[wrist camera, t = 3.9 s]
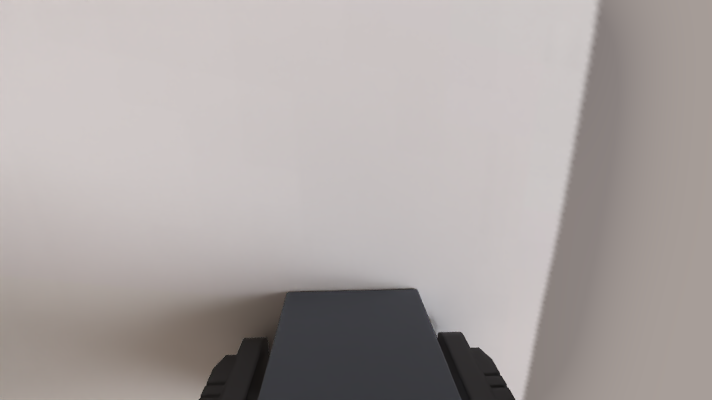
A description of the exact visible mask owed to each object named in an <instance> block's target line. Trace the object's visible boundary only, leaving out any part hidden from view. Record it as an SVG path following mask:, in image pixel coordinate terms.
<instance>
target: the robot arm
mask: <svg viewBox="0 0 712 400" xmlns="http://www.w3.org/2000/svg"><path fill="white" fill-rule="evenodd" d="M437 340H438V342H439V345H440V347H441V350H442V352H443V355H444V357H445V360H446V362H447V365H448V367H449V370H450V372H451V375H452V377H453V380H454V382H455V385H456V387H457V390H458V392H459V395H460V397H461V400H515V398H514V397H513V395H512V393H511V391H510V390H509V388H507V384H506V383H505V381H504V379H503V378H502V376H500V372H499V371H498V369H497V367H496V366H495V364H494V362H493V360H492V359H491V358H490V357H489V356H488V355H487V354H485V353H484V352H483V351H482V350H481V349H480V348H470V347H469V345H468V343H467V341H466V339H465V337H464V335H463V334H462V333H461V332H440V333H438V337H437ZM269 357H270V356H269V345H268V339H267V337H257V338H244V339H243V340H242V343H241V345H240V348H239V350H238V353H237V355H226V356H225V357H224V358H223V359H222V360H221V361H220V362H219V363H218V364H217V365H216V366H215V367H214V368H213V370H212V372H211V375H210V377H209V379H208V381H207V385H206V386H205V387H204V390H203V392H202V394H201V398H200V399H199V400H258V397H259V393H260V390H261V386H262V382H263V379H264V375H265V371H266V368H267V364H268V360H269Z"/></svg>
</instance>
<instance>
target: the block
mask: <svg viewBox="0 0 712 400" xmlns="http://www.w3.org/2000/svg"><path fill="white" fill-rule="evenodd" d="M258 400H461V397H460V395H459V392H458V390H457V387H456V385H455V382H454V380H453V377H452V375H451V372H450V370H449V367H448V365H447V362H446V360H445V357H444V355H443V352H442V350H441V347H440V345H439V342H438V340H437V337H436V335H435V333H434V330H433V328H432V325H431V323H430V320H429V318H428V315H427V313H426V310H425V308H424V305H423V303H422V300H421V298H420V295H419V293H418V290H416V289H407V290H365V291H323V292H288V293H287V294H286V298H285V301H284V305H283V309H282V312H281V316H280V320H279V323H278V327H277V331H276V334H275V338H274V342H273V345H272V349H271V353H270V357H269V360H268V364H267V368H266V371H265V375H264V379H263V382H262V386H261V390H260V393H259V397H258Z"/></svg>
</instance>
